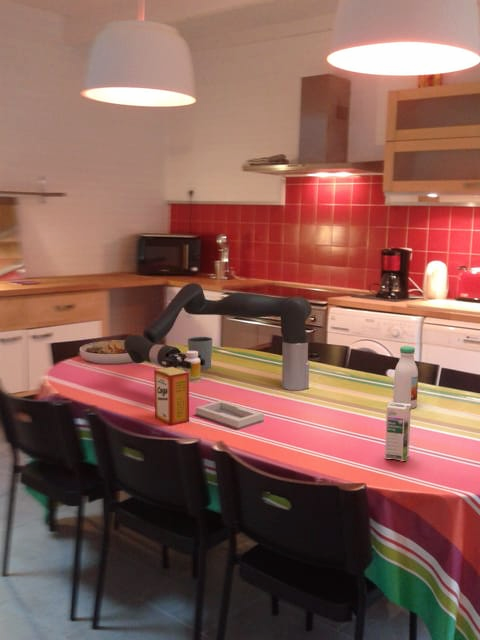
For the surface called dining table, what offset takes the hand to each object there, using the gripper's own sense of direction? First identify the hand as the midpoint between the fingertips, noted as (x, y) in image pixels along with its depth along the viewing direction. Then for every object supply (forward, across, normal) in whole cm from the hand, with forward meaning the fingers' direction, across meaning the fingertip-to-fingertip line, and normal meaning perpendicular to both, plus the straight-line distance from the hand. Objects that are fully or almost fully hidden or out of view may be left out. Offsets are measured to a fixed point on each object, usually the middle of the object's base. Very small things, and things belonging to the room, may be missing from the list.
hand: (197, 364), depth 219 cm
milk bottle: (+46, +51, +16) cm, 71 cm away
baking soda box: (+4, -14, +15) cm, 21 cm away
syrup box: (+70, +9, +16) cm, 72 cm away
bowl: (-81, +23, +15) cm, 86 cm away
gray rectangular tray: (+15, 0, +15) cm, 21 cm away
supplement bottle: (-3, 0, +6) cm, 7 cm away
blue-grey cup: (-42, +38, +15) cm, 58 cm away
